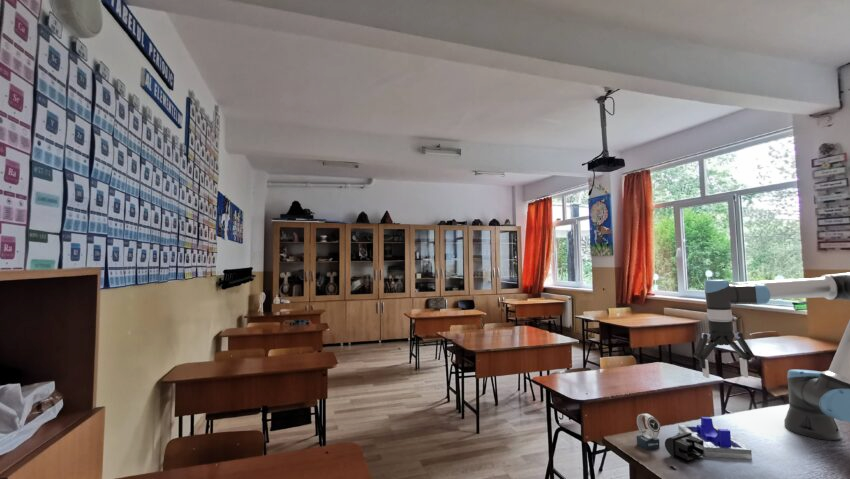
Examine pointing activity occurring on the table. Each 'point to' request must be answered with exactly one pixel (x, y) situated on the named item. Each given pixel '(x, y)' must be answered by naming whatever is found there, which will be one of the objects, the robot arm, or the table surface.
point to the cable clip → (714, 433)
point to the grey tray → (714, 450)
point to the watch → (647, 439)
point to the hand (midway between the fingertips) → (725, 376)
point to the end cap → (684, 448)
